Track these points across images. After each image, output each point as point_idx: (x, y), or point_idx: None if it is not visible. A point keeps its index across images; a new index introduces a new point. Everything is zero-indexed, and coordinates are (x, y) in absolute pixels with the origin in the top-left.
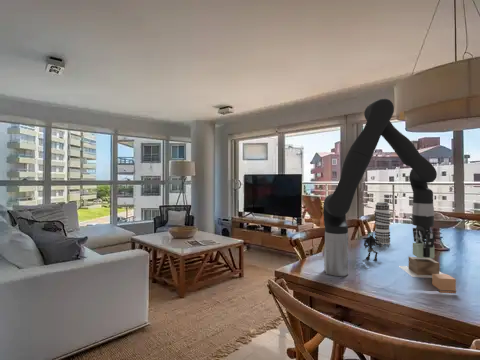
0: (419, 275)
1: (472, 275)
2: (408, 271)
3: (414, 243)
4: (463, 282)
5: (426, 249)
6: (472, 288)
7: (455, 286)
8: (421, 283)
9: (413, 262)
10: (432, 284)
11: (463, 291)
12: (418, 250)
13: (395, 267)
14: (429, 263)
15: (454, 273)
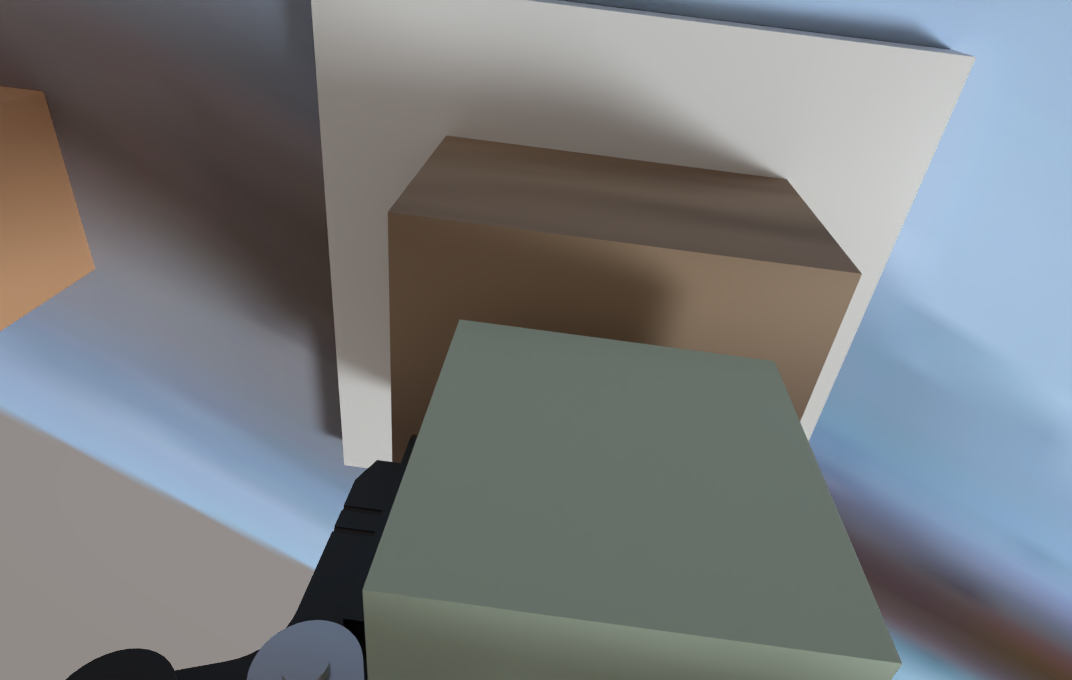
0: (406, 146)
1: None
2: (615, 74)
3: (733, 643)
4: (337, 513)
5: (306, 614)
6: (174, 481)
7: None
8: (160, 16)
9: (587, 214)
10: (6, 99)
11: (42, 360)
12: (416, 447)
13: (1019, 18)
14: (396, 408)
15: None
